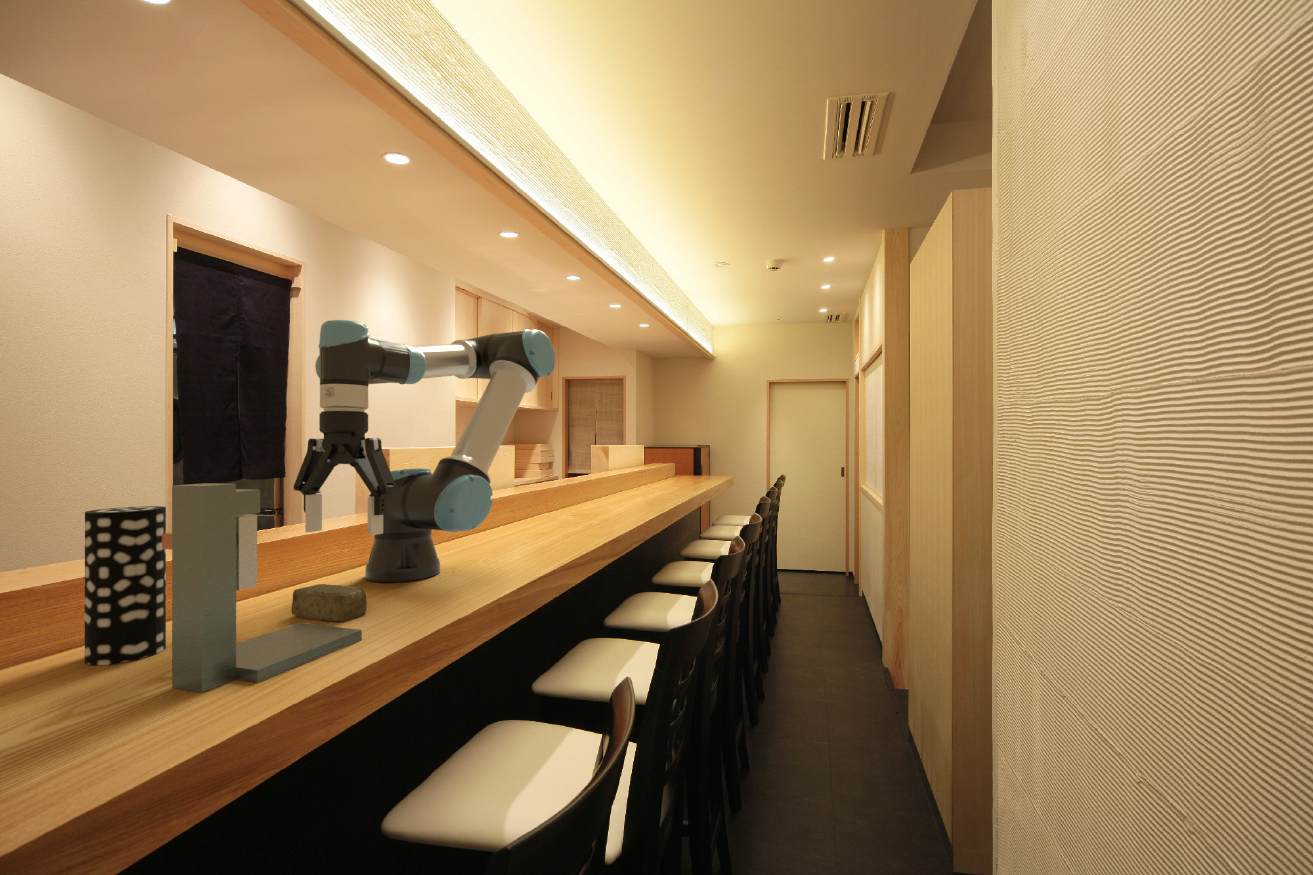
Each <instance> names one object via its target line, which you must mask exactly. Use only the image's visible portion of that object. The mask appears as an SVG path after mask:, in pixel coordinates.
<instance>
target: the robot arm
mask: <svg viewBox="0 0 1313 875" xmlns="http://www.w3.org/2000/svg"><path fill="white" fill-rule="evenodd" d="M369 331H370V330H369V327H368V326H367V325H366V324H365V323H362V322H360V321H354V320H347V319H346V320H345V319H333V320H327V321H325V322H323V323H322V324H321V326H320V333H319V343H318V348H319V349H318V350H319V355H318V357H317V358H316V361H315V366H314V367H315V373H316V375H317V377H318V378H319V408H321V409H323V411H320V412H319V427H318V428H319V432H320V433H322V434H323V438H309V439H308V441H307V449H306V452H305V456H304V459H303V461H302V464H301V466H300V469H299V472H298V474H297V476H296V479H295V482H294V485H293V490H294V491H297V492H298V491H299V493H301V494H302V495H303V512H304V513H305V522H304V523H305V526H304V527H305V531H304V532H305V533H315V532H320V531H321V532H322V531H323V493H322V491H321V488H322V486H324V484H325V482H326V480H328V477H329V476H330V474H332V472H333V470H334V468H335V467H336V466H339V465H349V466H350V467H353V468H354V470H355V471H356V473H357V474H358V476H359V477H360V479H361V480H362V482H363V483H364V485H365V486H366V487H367V489H368V491H369V492H370V494H368V495H369V496H367V534H366V536H371V537H372V536H374V537H373V541H374V542H373V545H372V548H371V552H370V553H369V557H368V563H366V565H365V572H364V573H365V574H364V576H365V580H367V581H370V582H375V583H376V582H378V583H396V582H397V583H399V582H409V581H416V580H417V581H418V580H422V579H427V578H430V577H434V576H436V575H438V574H439V573H441V561H440V558H439V557H438V553H437V550H436V547H435V544H434V540H433V537H432V534H433V533H432V530H433V531H445V532H450V533H456V532H457V533H458V532H467V531H471V530H474V529H476V528H477V527H479V526H480V525H481V524H483V522H484V521H485V520H486V518H487V517H488V515H489V514H490V512H491V510H492V506H493V500H494V499H493V498H491V497H493V494H494V493H493V489H492V486H491V480H492V479H491V477H490V475H489V473H488V472H489V470H490V468H491V466H492V464H493V461H494V460H495V457H496V455H497V453H498V450H499V448H500V447H501V446H502V443H503V440H504V438H505V436H506V434H507V431H508V430H509V428H510V426H511V423H512V421H513V419H514V417H515V415H516V413H517V411H518V409H519V406H520V404H521V403H522V400H523V397H524V396H525V394H527V393H531V392H532V391H533V390H534V389H535V387H536V385H537V383H538V381H539V379H540V378H546V377H548V376H550V375H552V373H553V372H554V370H555V367H556V353H555V348H554V345H553V343H552V342H551V339H550V338H549V336H548V335H547V334H546V333H545V332H543V331H542V330H539V329H528V328H527V329H524V330H519V331H509V332H499V333H490V334H486V335H481V336H477V337H472V338H468V339H467V338H466V339H457V340H454V341H453V342H451V343H449V344H426V345H425V344H423V345H422V344H421V345H407V344H406V343H398V342H397V343H396V342H391V341H385V340H381V339H375V338H373V337H370V333H369ZM453 376H454V377H455V378H457V379H460V380H461V379H462V380H464V379H482V380H489V381H488V384H487V385H486V387H485V389H484V391H483V393H482V395H481V397H480V398H479V401H478V402H477V404H476V407H474V410H473V412H472V414H471V416H470V417H469V420H468V422H467V424H466V425H465V428H464V430H463V431H462V433H461V436H460V437H459V439H458V441H457V443H456V445H455V447H454V449H453V451H452V452H451V455H450V456H446V457H443V458H441V459H439V462H437V465H436V467H435V469H434V471H433V472H432V470H431V469H430V468H429V467H417V468H416V467H415V468H408V469H407V468H406V469H405V468H404V469H395V470H391V469H390V467H389V464H388V462H387V460H386V457H385V455H384V452H383V446H382V439H381V438H379V437H366V436H365V434H367V433H368V432H369V414H368V412H365V410H368V409H369V385H379V384H390V383H391V384H399V385H414V384H415V385H416V384H417V383H419V382H420V381H421V380H423V379H434V378H443V377H453Z"/></svg>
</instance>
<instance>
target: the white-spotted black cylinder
mask: <svg viewBox="0 0 1313 875" xmlns="http://www.w3.org/2000/svg"><path fill="white" fill-rule="evenodd" d="M163 533H167V507H166V506H163V505H162V506H157V505H155V506H154V505H150V506H149V505H148V506H147V505H146V506H145V505H144V506H125V507H111V508H101V509H91V510H87V511H85V512H84V663H85V664H86V665H89V666H108V665H109V664H111V665H117V664H118V663H119V664H123V663H122V662H125V663H128V662H129V661H130V662H133V661H132V660H134V661H138V660H141V659H140V658H142V659H146V658H148V656H149V657H152V656H155V655H156V654H159V653H161V652H162V651H164V650H166V647H167V631H166V630H167V573H166V572H167V549H162V534H163ZM154 654H155V655H154ZM145 657H146V658H145Z"/></svg>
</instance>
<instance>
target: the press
mask: <svg viewBox="0 0 1313 875" xmlns="http://www.w3.org/2000/svg"><path fill="white" fill-rule="evenodd" d="M171 489H172V490H171V492H172V493H171V502H172V503H171V505H172V506H171V510H172V511H171V523H172V524H171V532H172V549H171V557H172V558H171V559H172V560H171V562H172V563H171V566H172V567H171V569H172V570H171V571H172V572H171V573H172V574H171V592H172V593H171V596H172V597H171V599H172V600H171V605H172V606H171V622H172V623H171V626H172V627H171V628H172V629H171V631H172V632H171V633H172V634H171V636H172V637H171V643H172V645H171V657H172V658H171V659H172V660H171V661H172V662H171V670H172V671H171V675H172V676H171V685H172V686H171V688H172V689H178V690H184V691H185V690H186V691H189V692H195V693H196V692H197V693H201V694H203V693H205V692H208V691H210V690H212V689H215V688H218V687H221V686H223V685H225V684H226V685H227V683H231V682H233V681H236V680H237V681H243V682H244V681H245V682H250V683H251V682H252V683H256V684H257V683H260V682H263V681H265V680H268V679H270V678H273V677H275V676H277V675H280V674H282V673H285V672H288V671H290V670H292V669H294V668H297V667H300V666H302V665H304V664H307V663H309V662H311V661H314V660H316V659H319V658H321V657H323V656H326V655H329V654H330V653H331V654H332V653H333V652H336V651H338V650H340V649H343V648H346V647H348V646H351V645H353V644H355V643H358V642H361V641H362V640H363V638H362V637H363V636H362V634H363V630H362V629H358V628H349V627H343V626H342V627H340V626H331V625H321V624H314V623H307V622H306V623H305V622H298V623H295V624H291V625H289V626H285V627H283V628H282V627H281V628H279V629H276V630H273V631H270V632H267V633H265V634H261V635H259V636H258V635H257V636H256V637H252V638H249V639H246V640H244V641H241V642H237V590H236V516H239V515H247V514H248V515H257V514H260V513H261V489H251V488H250V489H247V488H246V489H245V488H242V489H241V488H237V483H216V482H214V483H212V482H211V483H210V482H209V483H207V482H205V483H204V482H203V483H193V484H176V485H171Z"/></svg>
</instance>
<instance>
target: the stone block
mask: <svg viewBox="0 0 1313 875" xmlns="http://www.w3.org/2000/svg"><path fill="white" fill-rule="evenodd" d="M367 605H368V602H367V593H366V591H365V590H364V589H363V587H355V586H351V585H350V586H349V585H339V584H338V585H337V584H325V583H323V584H322V583H321V584H315V585H310V586H306V587H305V586H304V587H300V588H297V589H294V590H293V592H292V602H291V609H290V610H291V611H290V612H291V614H292V615H293V616H295V617H297V618H302V619H309V620H316V621H317V620H318V621H327V622H345V621H348V620H352V619H355V618H359V617H361V616H362V615H365V614H366V612H367V608H368V607H367Z"/></svg>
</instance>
